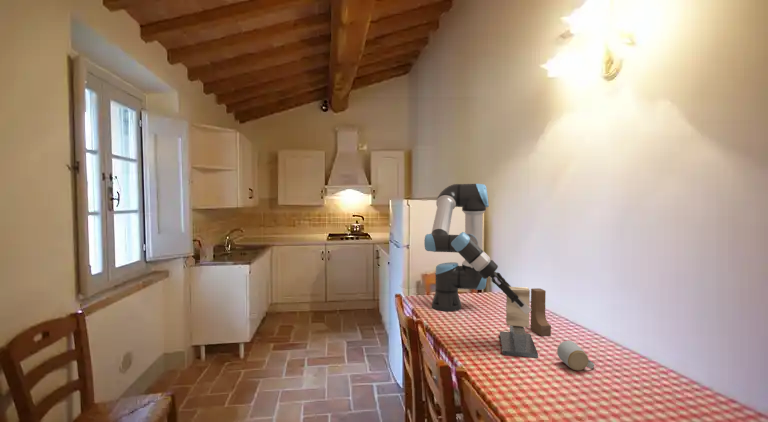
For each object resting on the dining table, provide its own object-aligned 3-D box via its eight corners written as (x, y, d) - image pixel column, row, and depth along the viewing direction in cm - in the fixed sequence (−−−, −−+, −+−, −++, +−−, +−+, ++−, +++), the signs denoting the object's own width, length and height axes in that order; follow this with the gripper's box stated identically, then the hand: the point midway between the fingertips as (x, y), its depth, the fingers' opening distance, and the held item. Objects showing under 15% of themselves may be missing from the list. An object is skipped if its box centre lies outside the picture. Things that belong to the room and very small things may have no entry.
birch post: (506, 321, 156) (506, 286, 155) (527, 323, 154) (528, 287, 153) (507, 325, 151) (507, 289, 150) (529, 327, 149) (529, 290, 148)
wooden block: (551, 336, 163) (551, 292, 163) (540, 336, 163) (541, 293, 162) (539, 328, 172) (540, 288, 172) (530, 329, 171) (530, 288, 171)
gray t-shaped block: (499, 334, 164) (499, 315, 164) (530, 337, 162) (530, 317, 161) (502, 354, 143) (503, 333, 143) (537, 357, 140) (538, 335, 140)
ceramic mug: (568, 372, 129) (568, 348, 129) (556, 361, 137) (557, 339, 137) (599, 372, 129) (600, 349, 129) (586, 362, 137) (587, 340, 137)
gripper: (477, 268, 164) (518, 309, 161) (477, 276, 146) (523, 323, 143) (490, 255, 163) (532, 297, 159) (492, 262, 145) (538, 309, 141)
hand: (527, 309), depth 151 cm, fingers open, 5 cm apart
